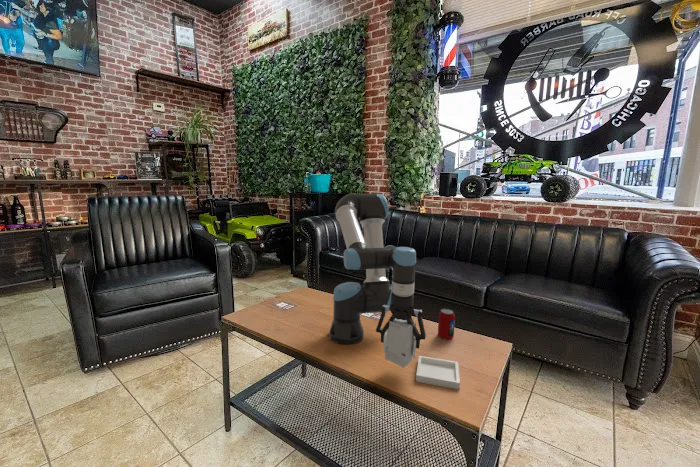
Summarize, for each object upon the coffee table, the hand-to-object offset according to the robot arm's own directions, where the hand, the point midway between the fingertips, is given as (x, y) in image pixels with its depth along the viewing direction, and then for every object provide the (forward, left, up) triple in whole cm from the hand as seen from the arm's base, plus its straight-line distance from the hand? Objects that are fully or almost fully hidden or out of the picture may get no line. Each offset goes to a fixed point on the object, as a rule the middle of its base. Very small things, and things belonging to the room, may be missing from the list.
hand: (399, 353), depth 109 cm
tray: (+13, +3, -8) cm, 16 cm away
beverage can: (+16, +33, -8) cm, 38 cm away
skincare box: (0, 0, -3) cm, 3 cm away
